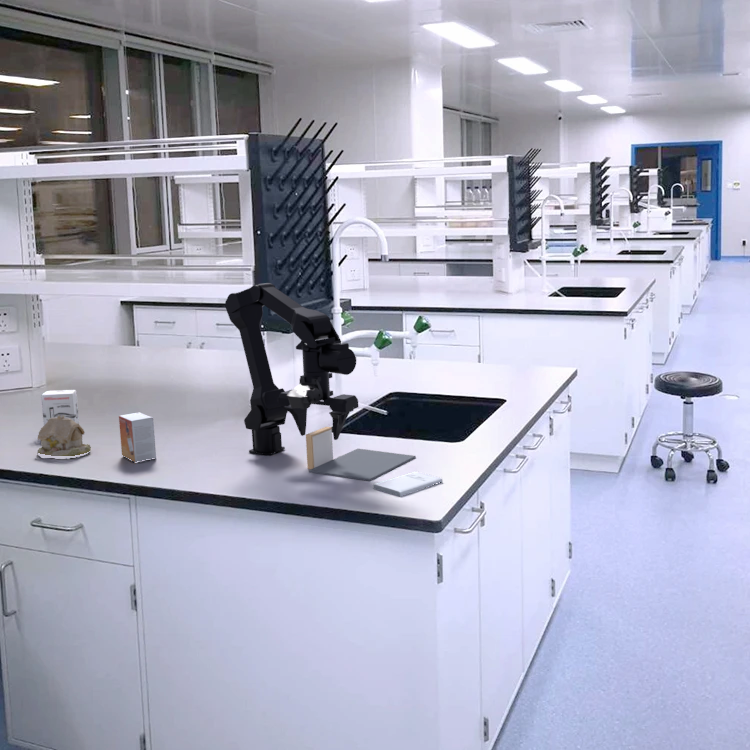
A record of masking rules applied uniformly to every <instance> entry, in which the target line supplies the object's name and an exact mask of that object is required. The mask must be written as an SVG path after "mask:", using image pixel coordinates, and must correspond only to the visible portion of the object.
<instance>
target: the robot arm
mask: <svg viewBox="0 0 750 750" xmlns="http://www.w3.org/2000/svg"><path fill="white" fill-rule="evenodd" d="M224 307H225V309H226V312H227V316H228V318H229V321H230V322H231V324H233V326H235V328H237V330H238V331H239V335H240V339H241V342H242V346H243V351H244V355H245V359H246V363H247V367H248V370H249V375H250V378H251V383H252V392H251V395H250V400H249V403H250V404H249V405H250V411H249V412H248V414H247V415H246V417H245V418H244V419H243V423H244V425H245V428H246V429H247V430H250V431H251V438H252V439H251V441H252V448H251V449H249V450H248V453H250V454H251V453H252V454H258V455H265V456H271V455H274V454H275V453H278V452H281V451H284V450H285V449H286V447H285V446H283V444H282V443H283V442H282V433H281V430H280V428H281V427H280V426H281V425H282V426H283V425H285V424H286V418H287V413H290V414H291V416H292V418H293V420H294V422H295V425H296V426H297V429H298V431H299V435H300V436H302V437H304V436H306V431H307V415H308V409H309V408H310V407H311V405H319V406H329V409H330V410H331V411H329V413H328V414H329V415H330V417H331V419H332V437H333V440H335V441H336V440H338V439H339V437H340V435H341V432H342V431H343V428H344V426H345V425H344V424H345V422H346V420H347V418H348V416H350V413H351V412H354V410H355V409H357V408H359V399H358V397H357V396H356V395H354V394H343V393H342V394H340V395H336V396H334V390H330V388H331V387H330V379H332V378H333V374H338V375H339V374H340V375H346V376H348V375H351V374H352V373H353V372H354V371H355V369H356V365H357V356H356V354H355V352H354V351H353V350H352V349H350V344H349V343H348V342H342V340H341V339H340V336H339V335H338V333H337V331H336V328H335V327H334V326H333V324H332V322H331V318H330V317H329V316H328V315H327V314H326V313H323V312H321V311H318V310H315V309H311V308H306V307H304V306H303V305H301V304H299V303H298V302H297V301H295V300H294V299H292V298H290V297H289V296H288V295H287V294H285V293H283V292H282V291H281V290H280V289H278V288H277V287H276V286H275V284H273V283H270V282H266V283H264V282H263V283H256V284H254V285H253V286H250V287H248V288H247V289H243V290H241V291H238V292H232V293H230V294H229V295H228V296H227V299H226V300H225V304H224ZM263 307H266V308H267V309H269V310H270V311H272V312H273V313H274V314H276V315H277V316H278V317H280V318H281V319H283V320H284V321H286V322H287V323H288V324H289V325H290V328H291V331H292V333H294V334H295V336H296V337H298V339H299V340H301V341H300V342H299V343H298V344H297V345H296V346H295V350H299V351H302V370H303V371H302V372H303V374H302V375H299V384H298V385H296V386H295V387H293V388H292V389H289V390H285V389H284V388H279V387H278V386H277V385H276V384H275V382H274V380H273V379H274V378H273V375H272V371H271V367H270V363H269V359H268V355H267V349H266V346H265V341H264V339H263V334H262V330H261V326H260V325H261V323H262V318H263V314H264V310H263ZM332 396H333V397H332Z"/></svg>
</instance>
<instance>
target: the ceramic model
mask: <svg viewBox="0 0 750 750" xmlns="http://www.w3.org/2000/svg"><path fill="white" fill-rule="evenodd" d="M85 433H86V432H85V430H84V428H83V427H82V426H81V425H80V423H79V424H77V423H76V422H74V421H73V420H72V419H69V418H64V415H58V416H57V418H56V417H53V418H50V419H49V420H48V422H47V423H46V424H45V425H44V424H43V426H42V427H41V428H40V429H39V432H38V434H37V440H38V441H40V445H41V446H40V447H39V448H38V449H37V454H38V453H40V454H45V455H51V456H75V455H80V454H84V453H87V452H89V451H92V450H91V448H92V446H91V445H90V444H85V443H83V435H85Z"/></svg>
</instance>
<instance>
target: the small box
mask: <svg viewBox="0 0 750 750" xmlns="http://www.w3.org/2000/svg"><path fill="white" fill-rule="evenodd" d="M118 423H119V434H120V448H121V456H122V455H123V456H125V457H127V458H129V459H131V460H132V461H134V462H137V461H142V460H146V459H152V458H156V459H157V450H156V436H155V425H154V417H153V416H149V415H147V414H145V413H142V412H140V411H139V412H134V413H127V414H121V415H119V416H118ZM132 461H131V462H132Z"/></svg>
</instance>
